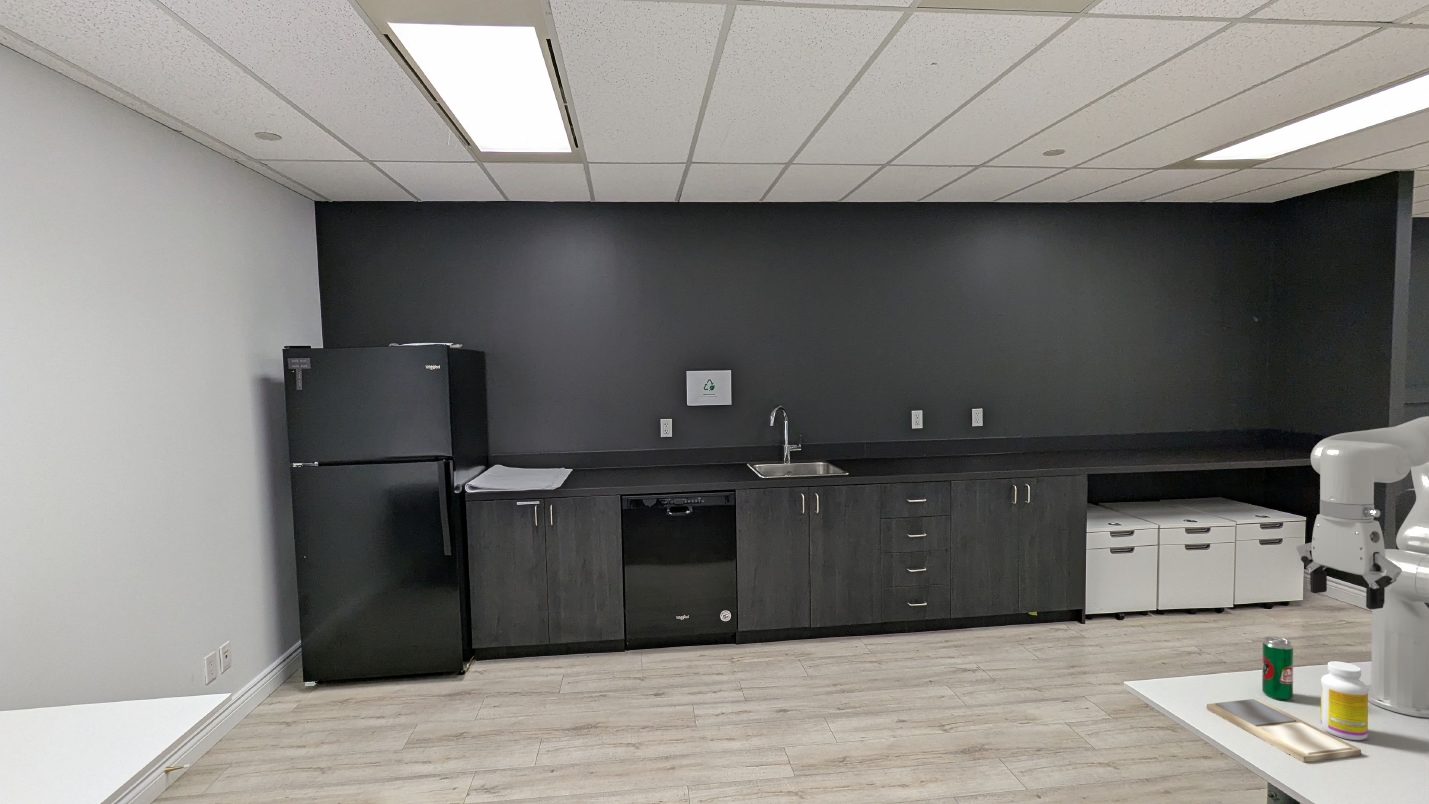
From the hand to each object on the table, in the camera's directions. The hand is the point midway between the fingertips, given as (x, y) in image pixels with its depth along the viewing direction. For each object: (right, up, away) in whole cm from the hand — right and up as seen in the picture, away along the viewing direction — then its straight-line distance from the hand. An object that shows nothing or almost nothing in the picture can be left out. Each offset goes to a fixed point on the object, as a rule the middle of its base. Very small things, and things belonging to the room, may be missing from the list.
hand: (1345, 599), depth 132 cm
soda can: (-1, -25, +15) cm, 29 cm away
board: (-12, -25, +1) cm, 28 cm away
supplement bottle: (-1, -25, 0) cm, 25 cm away
